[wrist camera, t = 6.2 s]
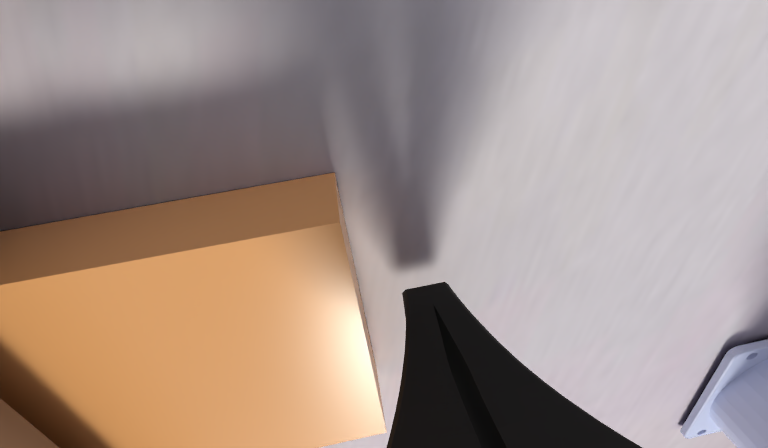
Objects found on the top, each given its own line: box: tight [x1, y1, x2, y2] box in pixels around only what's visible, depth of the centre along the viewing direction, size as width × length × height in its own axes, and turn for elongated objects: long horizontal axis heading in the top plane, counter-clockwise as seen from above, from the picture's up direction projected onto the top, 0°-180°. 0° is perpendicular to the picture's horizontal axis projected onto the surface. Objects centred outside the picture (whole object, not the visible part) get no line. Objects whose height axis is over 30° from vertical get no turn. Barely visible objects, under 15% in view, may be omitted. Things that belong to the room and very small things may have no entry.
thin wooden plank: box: [0, 173, 387, 448], centre depth 12 cm, size 13×9×2 cm
